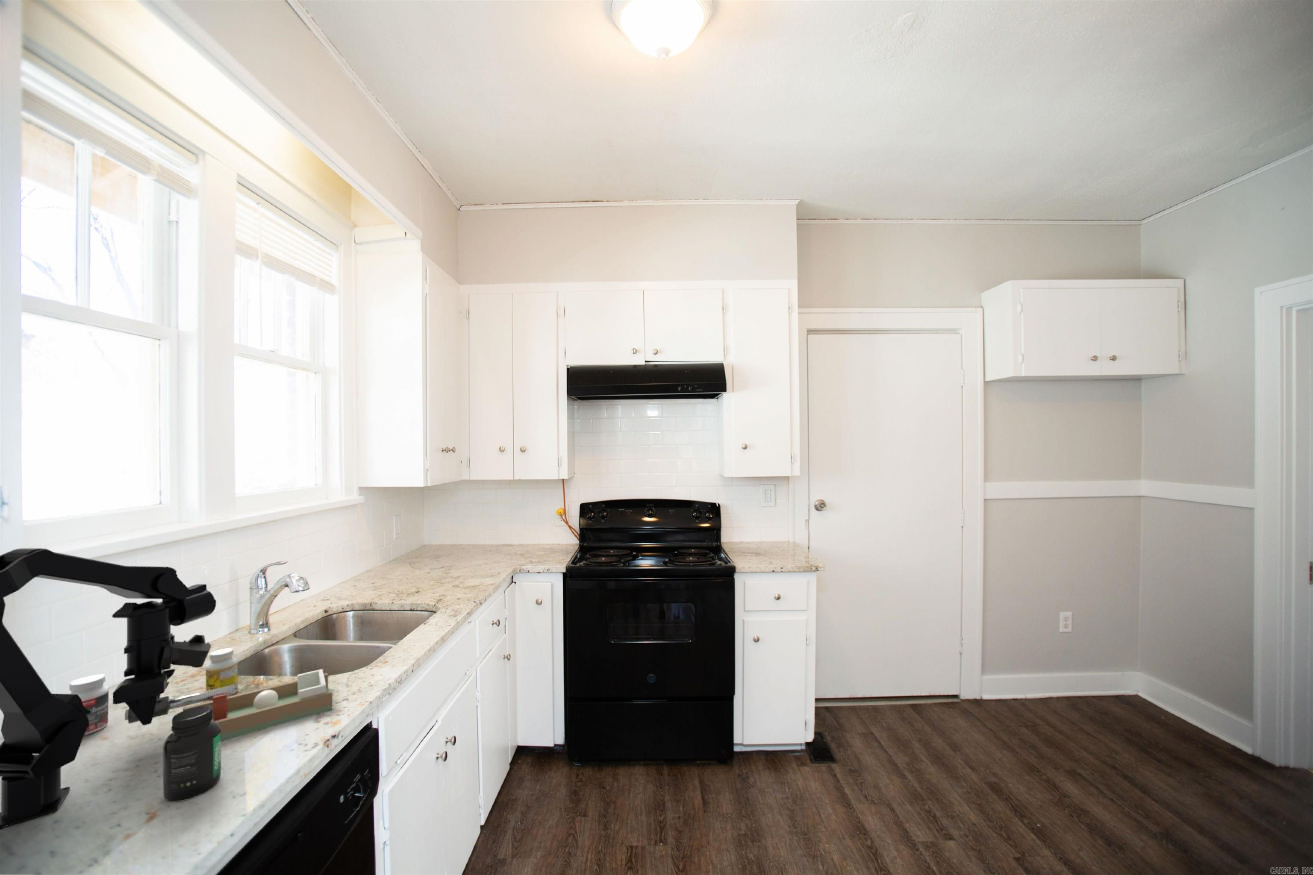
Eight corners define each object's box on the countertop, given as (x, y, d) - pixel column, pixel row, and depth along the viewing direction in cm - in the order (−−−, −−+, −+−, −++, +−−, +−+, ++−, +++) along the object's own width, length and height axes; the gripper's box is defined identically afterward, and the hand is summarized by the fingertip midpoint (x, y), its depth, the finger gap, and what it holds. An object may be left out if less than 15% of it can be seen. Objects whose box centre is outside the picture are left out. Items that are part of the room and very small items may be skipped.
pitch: (332, 709, 105) (332, 692, 105) (173, 753, 90) (173, 733, 90) (327, 688, 114) (327, 672, 114) (183, 725, 100) (183, 707, 100)
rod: (233, 719, 98) (233, 684, 99) (123, 748, 89) (123, 710, 89) (234, 711, 102) (234, 677, 102) (128, 738, 93) (128, 701, 93)
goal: (326, 704, 105) (326, 684, 105) (299, 711, 102) (299, 691, 102) (322, 686, 113) (322, 668, 113) (297, 693, 110) (297, 674, 110)
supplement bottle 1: (231, 777, 83) (231, 704, 83) (183, 806, 77) (182, 726, 77) (201, 771, 85) (201, 699, 85) (151, 798, 78) (151, 721, 79)
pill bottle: (78, 739, 95) (78, 687, 96) (56, 737, 97) (56, 685, 97) (116, 723, 101) (116, 673, 101) (94, 721, 102) (95, 671, 102)
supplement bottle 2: (241, 692, 113) (241, 649, 114) (212, 702, 109) (211, 658, 109) (231, 686, 116) (231, 645, 116) (201, 697, 111) (201, 653, 112)
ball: (278, 711, 103) (278, 691, 103) (253, 717, 100) (252, 697, 100) (278, 703, 106) (278, 684, 106) (253, 709, 103) (253, 690, 103)
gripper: (201, 638, 91) (201, 726, 90) (212, 613, 105) (212, 688, 105) (112, 655, 84) (111, 750, 83) (136, 625, 99) (136, 705, 98)
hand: (149, 720), depth 93 cm, fingers closed on rod, 3 cm apart
